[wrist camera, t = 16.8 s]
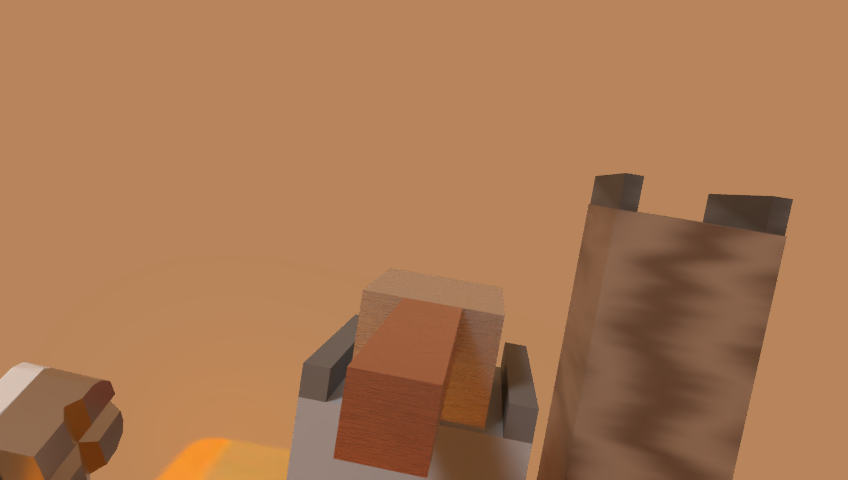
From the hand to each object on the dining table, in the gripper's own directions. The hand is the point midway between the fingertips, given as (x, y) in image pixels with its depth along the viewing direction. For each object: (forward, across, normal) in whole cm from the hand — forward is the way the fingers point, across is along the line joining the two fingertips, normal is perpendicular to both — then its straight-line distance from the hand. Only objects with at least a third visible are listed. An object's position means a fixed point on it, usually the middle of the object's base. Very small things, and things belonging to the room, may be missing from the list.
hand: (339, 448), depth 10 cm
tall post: (+15, -13, +34) cm, 39 cm away
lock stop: (+9, 0, +12) cm, 15 cm away
